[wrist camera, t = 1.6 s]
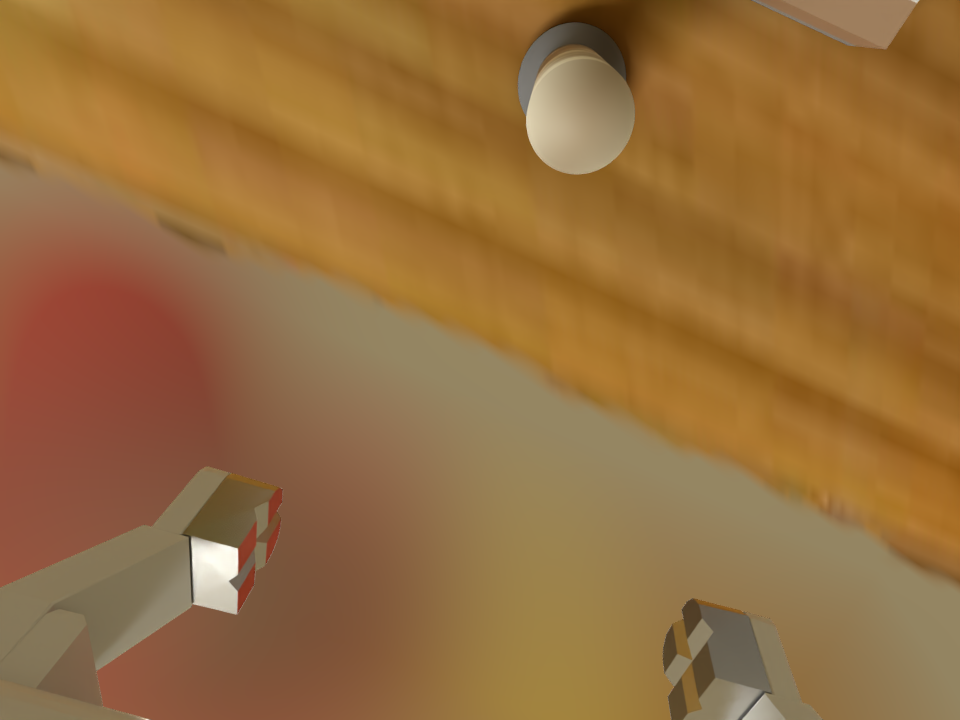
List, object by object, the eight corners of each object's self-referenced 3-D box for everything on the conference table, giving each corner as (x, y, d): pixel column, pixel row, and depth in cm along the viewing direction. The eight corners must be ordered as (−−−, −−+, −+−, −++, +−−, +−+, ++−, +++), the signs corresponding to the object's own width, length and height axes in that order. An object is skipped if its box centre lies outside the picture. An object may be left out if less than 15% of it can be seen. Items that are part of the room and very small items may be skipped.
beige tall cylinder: (503, 113, 35) (477, 165, 23) (544, 4, 32) (538, -3, 20) (594, 152, 36) (615, 222, 24) (643, 48, 33) (695, 68, 21)
